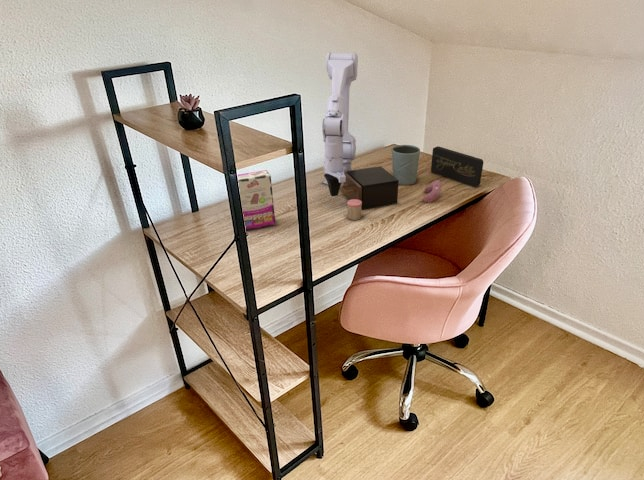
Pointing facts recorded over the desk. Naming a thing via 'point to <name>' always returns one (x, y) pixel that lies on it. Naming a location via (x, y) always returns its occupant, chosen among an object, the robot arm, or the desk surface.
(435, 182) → the pink curved piece
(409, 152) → the green cup
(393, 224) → the desk surface
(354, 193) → the drawer
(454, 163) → the nameplate
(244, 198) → the candy bar box
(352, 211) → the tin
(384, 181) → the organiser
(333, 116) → the robot arm
